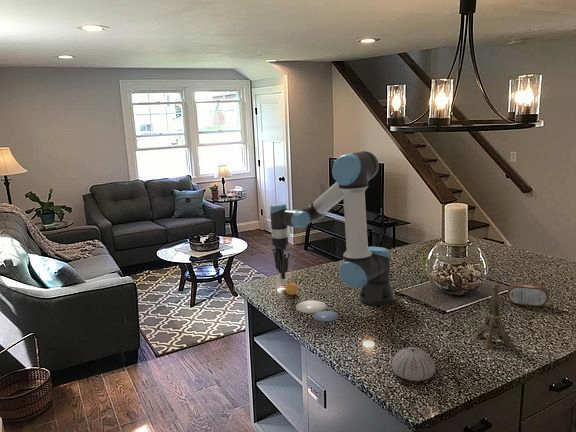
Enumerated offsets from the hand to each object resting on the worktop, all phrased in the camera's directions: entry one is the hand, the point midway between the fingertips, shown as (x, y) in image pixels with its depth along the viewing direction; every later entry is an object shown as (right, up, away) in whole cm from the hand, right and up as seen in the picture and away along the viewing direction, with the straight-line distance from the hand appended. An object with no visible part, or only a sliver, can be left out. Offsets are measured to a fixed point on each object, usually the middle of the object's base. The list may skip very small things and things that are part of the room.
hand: (282, 284), depth 225 cm
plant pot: (+72, +3, +7) cm, 73 cm away
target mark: (+12, -6, -23) cm, 26 cm away
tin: (+100, -4, -32) cm, 105 cm away
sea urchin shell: (+42, -17, -77) cm, 90 cm away
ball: (+4, -1, -8) cm, 9 cm away
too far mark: (+18, -8, -33) cm, 38 cm away
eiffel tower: (+74, -11, -60) cm, 96 cm away
